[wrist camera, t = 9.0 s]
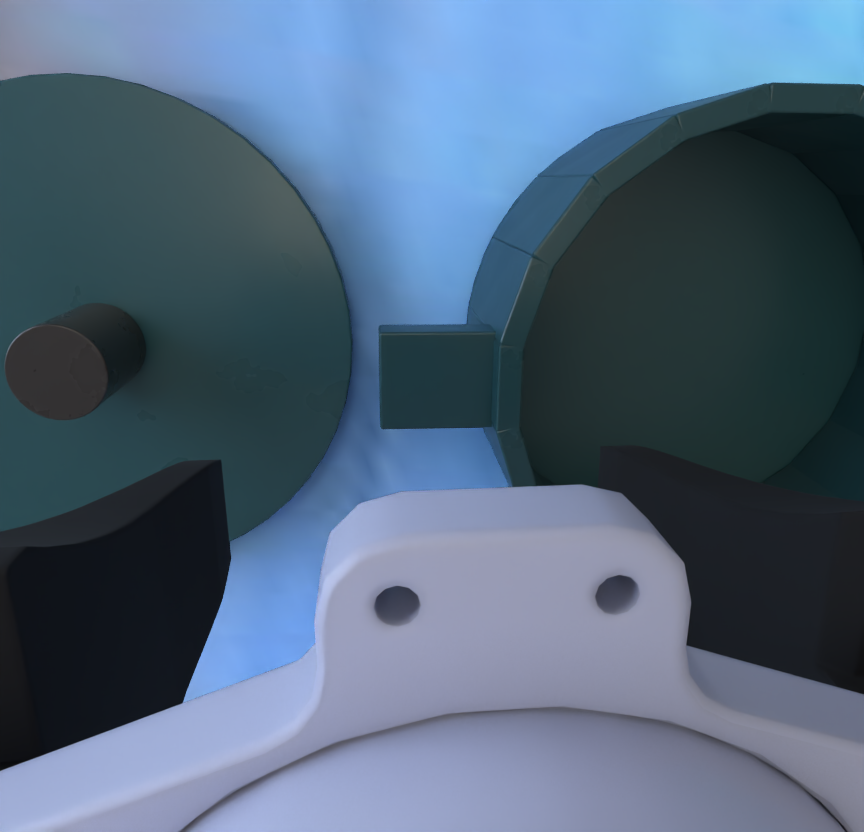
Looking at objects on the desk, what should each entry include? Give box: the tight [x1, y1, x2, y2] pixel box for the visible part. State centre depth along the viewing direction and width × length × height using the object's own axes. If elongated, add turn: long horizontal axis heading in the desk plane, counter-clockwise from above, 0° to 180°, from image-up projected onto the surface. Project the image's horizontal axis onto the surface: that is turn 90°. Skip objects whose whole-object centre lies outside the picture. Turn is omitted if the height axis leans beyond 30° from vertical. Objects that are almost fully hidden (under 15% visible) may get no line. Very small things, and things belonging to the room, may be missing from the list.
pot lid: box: [0, 73, 353, 542], centre depth 20 cm, size 14×14×4 cm
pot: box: [379, 83, 864, 501], centre depth 20 cm, size 13×19×6 cm
